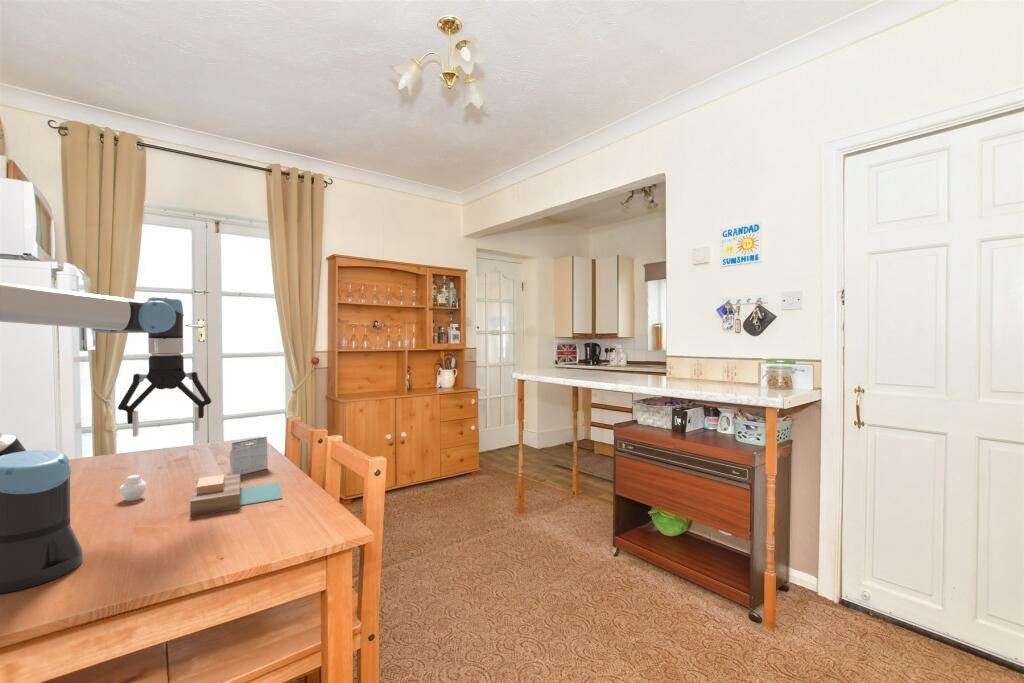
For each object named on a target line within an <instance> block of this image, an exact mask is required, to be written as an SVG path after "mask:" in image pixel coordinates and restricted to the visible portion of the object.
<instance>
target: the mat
mask: <svg viewBox="0 0 1024 683" xmlns="http://www.w3.org/2000/svg"><path fill="white" fill-rule="evenodd" d="M279 500H283V495H282V492H281V487H280V483H279V481H277V482H272V483H265V484H259V485H251V486H250V485H249V486H243V487H240V507H242V506H248V505H255V504H260V503H265V502H271V501H279Z"/></svg>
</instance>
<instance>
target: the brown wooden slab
mask: <svg viewBox="0 0 1024 683" xmlns="http://www.w3.org/2000/svg"><path fill="white" fill-rule="evenodd" d="M198 482H199V479H196V482H195V485H194V486H195V487H194V489H193V492H192V495H191V497H190V498H191V499H190V500H189V501H190V505H189V506H190V507H189V508H190V509H189V510H190V512H189V513H190V518H191V517H197V516H198V517H199V516H203V515H208V514H209V515H210V514H214V513H220V512H226V511H231V510H238V509H240V507H241V506H240V488H241V475H240V474H238V475H231V474H230V475H224V487H223V490H222V491H216V492H209V493H202V494H197V485H198Z"/></svg>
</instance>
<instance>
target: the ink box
mask: <svg viewBox="0 0 1024 683" xmlns="http://www.w3.org/2000/svg"><path fill="white" fill-rule="evenodd" d="M249 443H251V444H249ZM252 443H253V444H252ZM229 466H230V467H229V468H230V476H231V475H238V474H240V476H242V475H247V474H251V473H254V472H255V473H256V472H258V471H259V472H260V471H263V470H264V471H265V470H268V466H269V465H268V437H267V436H263V437H258V438H253V439H248V440H246V439H245V440H241V441H237V442H236V441H235V442H231V450H230V451H229Z"/></svg>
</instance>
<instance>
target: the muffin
mask: <svg viewBox="0 0 1024 683" xmlns="http://www.w3.org/2000/svg"><path fill="white" fill-rule="evenodd" d="M147 486H148V483H147V482H146V481H144V480H143V479H142V477H141V476H140V475H138V474H132V475H129V476H127V477H125V481H124V482H123V484H122V485H120V486H119V489H118V490H119V492H120V495H121V496H122V497H123V498H124V499H125V501H127V502H130V501H136V500H140V499H141V498H142V496H143V494H144V493H145V491H146V488H147Z"/></svg>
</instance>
